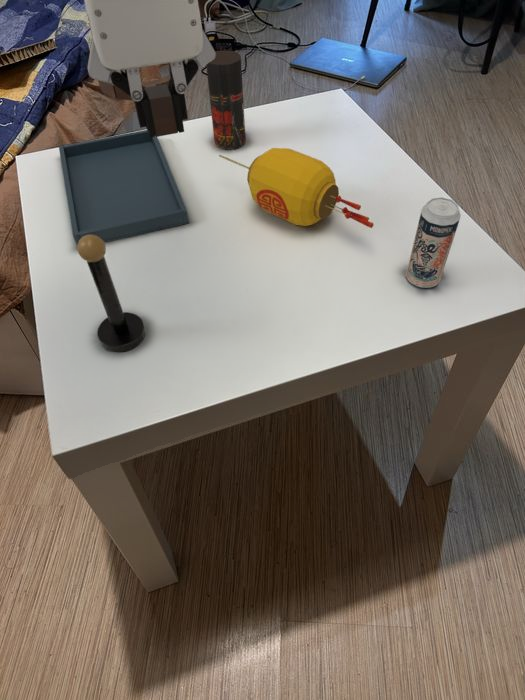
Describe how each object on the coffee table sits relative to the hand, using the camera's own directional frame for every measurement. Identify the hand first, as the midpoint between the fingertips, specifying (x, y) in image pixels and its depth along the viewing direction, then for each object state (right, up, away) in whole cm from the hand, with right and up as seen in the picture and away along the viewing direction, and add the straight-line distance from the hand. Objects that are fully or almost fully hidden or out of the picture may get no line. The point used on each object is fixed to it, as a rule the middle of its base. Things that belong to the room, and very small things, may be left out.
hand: (164, 127), depth 57 cm
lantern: (+15, -2, +28) cm, 32 cm away
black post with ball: (-8, -22, +12) cm, 26 cm away
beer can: (+33, -14, +17) cm, 40 cm away
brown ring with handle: (-3, +6, +5) cm, 9 cm away
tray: (-14, +4, +34) cm, 37 cm away
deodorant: (+5, +15, +43) cm, 46 cm away
